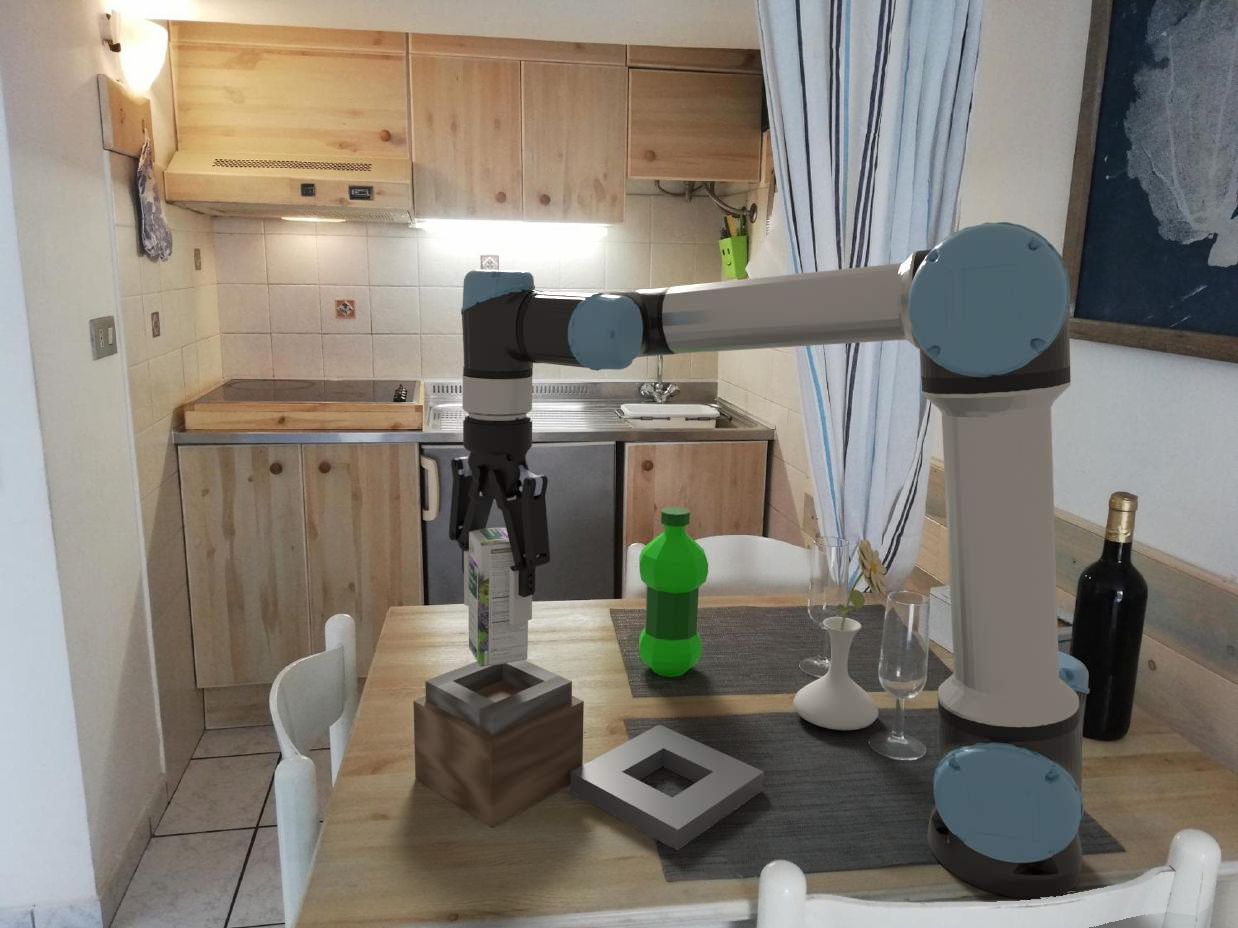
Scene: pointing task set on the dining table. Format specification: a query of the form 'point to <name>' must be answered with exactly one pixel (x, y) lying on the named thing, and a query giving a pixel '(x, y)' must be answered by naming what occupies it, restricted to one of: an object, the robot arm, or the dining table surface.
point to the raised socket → (497, 737)
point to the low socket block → (653, 811)
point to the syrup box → (492, 600)
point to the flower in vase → (844, 661)
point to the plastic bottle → (672, 596)
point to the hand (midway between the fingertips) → (497, 611)
